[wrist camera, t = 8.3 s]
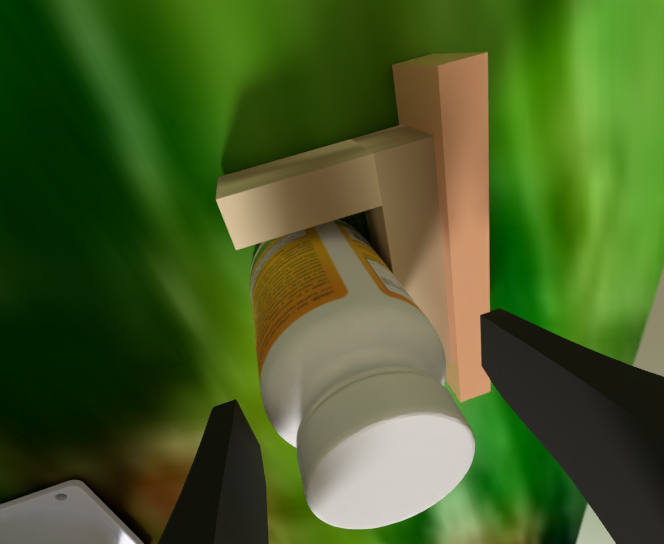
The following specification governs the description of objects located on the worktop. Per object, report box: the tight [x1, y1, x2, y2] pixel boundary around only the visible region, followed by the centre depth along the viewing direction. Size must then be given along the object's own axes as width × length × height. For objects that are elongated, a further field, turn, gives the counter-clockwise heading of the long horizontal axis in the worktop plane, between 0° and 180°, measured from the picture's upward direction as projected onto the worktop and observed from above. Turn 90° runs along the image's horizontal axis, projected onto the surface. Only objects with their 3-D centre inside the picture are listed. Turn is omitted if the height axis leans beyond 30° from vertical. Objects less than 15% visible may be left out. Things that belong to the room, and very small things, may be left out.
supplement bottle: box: [250, 219, 475, 529], centre depth 13 cm, size 5×5×10 cm
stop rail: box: [392, 52, 490, 402], centre depth 16 cm, size 2×14×4 cm, turn 12°
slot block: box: [216, 125, 452, 364], centre depth 15 cm, size 7×10×3 cm
